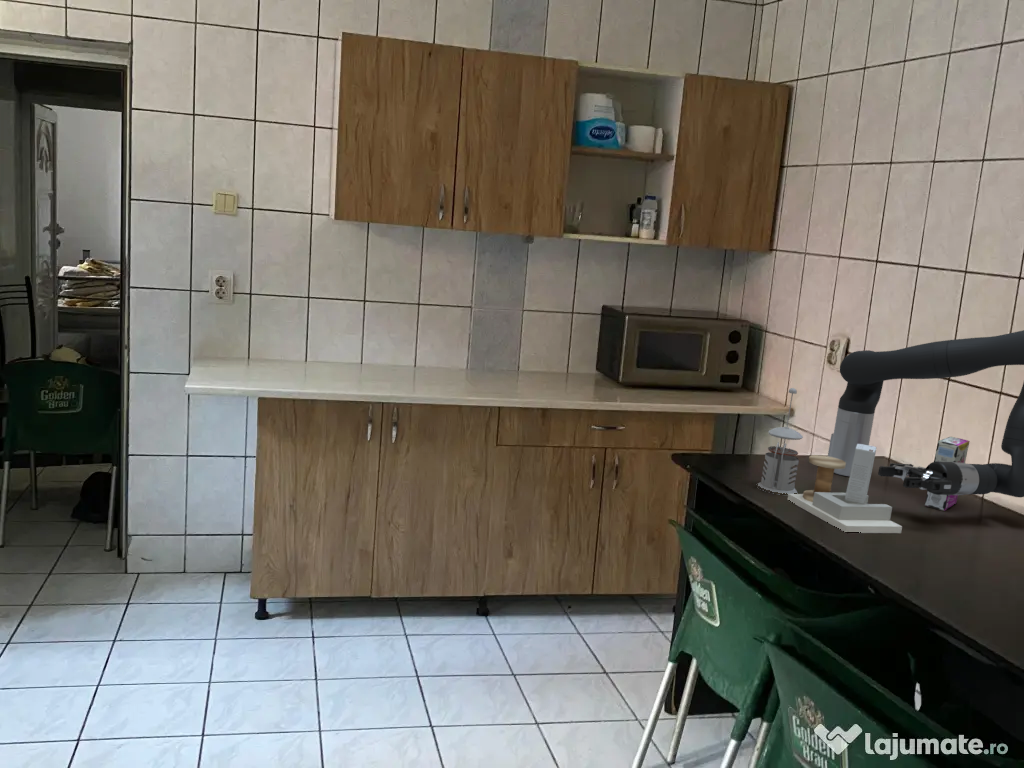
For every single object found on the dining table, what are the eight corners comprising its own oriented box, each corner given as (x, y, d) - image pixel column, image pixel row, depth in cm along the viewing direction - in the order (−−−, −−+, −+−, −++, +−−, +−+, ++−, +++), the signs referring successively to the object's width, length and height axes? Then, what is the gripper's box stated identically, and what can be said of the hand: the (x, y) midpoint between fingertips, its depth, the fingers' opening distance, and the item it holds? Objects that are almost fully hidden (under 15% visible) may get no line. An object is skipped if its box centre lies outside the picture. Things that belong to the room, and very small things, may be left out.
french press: (800, 488, 226) (817, 389, 222) (793, 499, 216) (810, 395, 211) (759, 480, 230) (775, 382, 226) (751, 490, 220) (767, 388, 215)
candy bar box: (945, 512, 219) (958, 445, 216) (923, 506, 222) (936, 440, 219) (957, 504, 228) (970, 439, 225) (936, 498, 231) (949, 435, 228)
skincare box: (846, 494, 208) (855, 442, 205) (867, 498, 206) (877, 446, 204) (844, 500, 202) (853, 447, 200) (865, 505, 200) (875, 451, 198)
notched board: (787, 499, 215) (790, 481, 214) (838, 500, 219) (841, 482, 218) (845, 532, 194) (849, 512, 193) (900, 533, 198) (904, 513, 197)
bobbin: (795, 493, 215) (802, 454, 213) (825, 494, 217) (831, 455, 216) (816, 504, 208) (822, 464, 206) (846, 505, 210) (853, 465, 208)
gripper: (932, 454, 216) (874, 451, 212) (978, 471, 203) (916, 469, 198) (926, 484, 218) (868, 483, 213) (971, 504, 204) (910, 502, 200)
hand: (891, 476), depth 206 cm, fingers open, 8 cm apart
